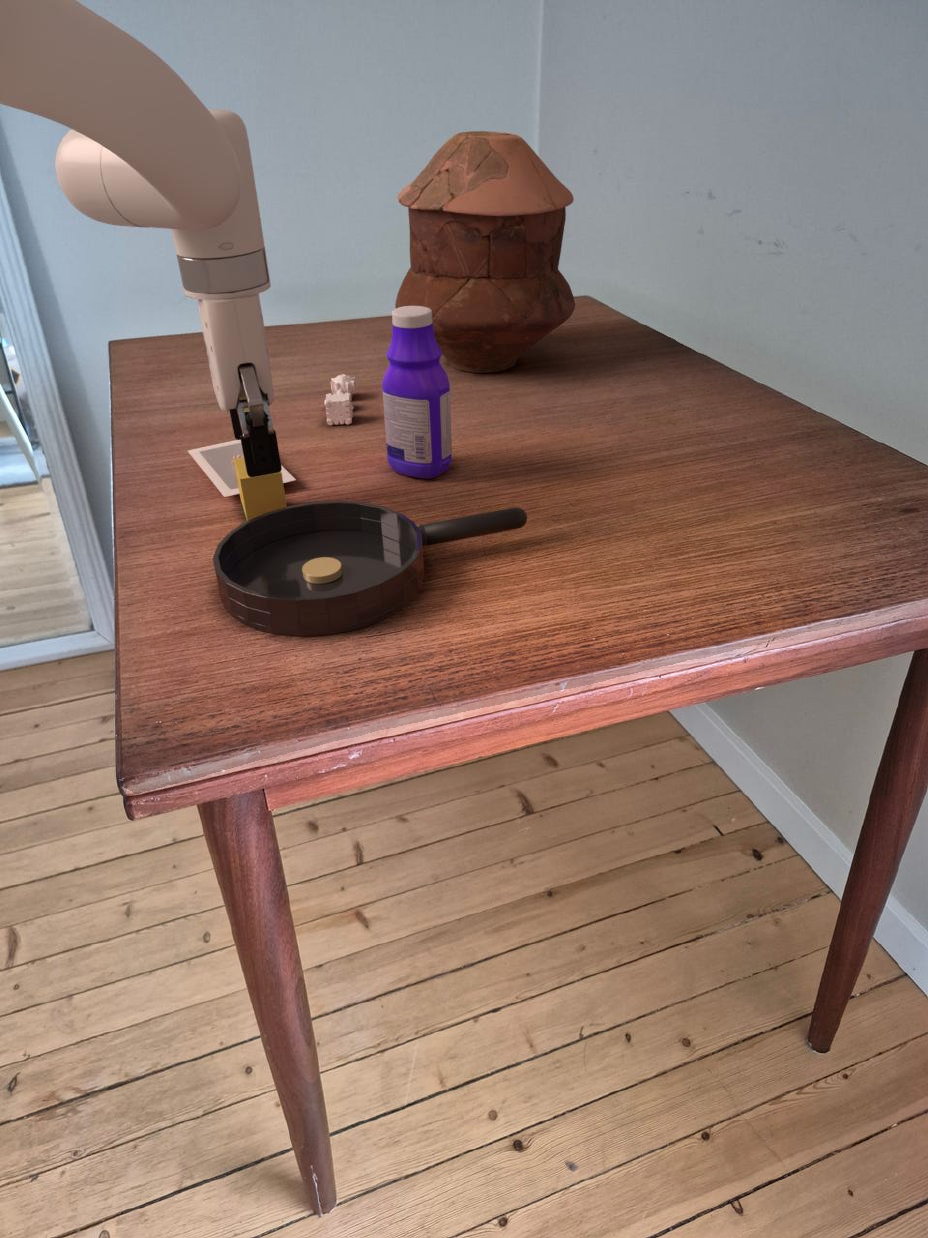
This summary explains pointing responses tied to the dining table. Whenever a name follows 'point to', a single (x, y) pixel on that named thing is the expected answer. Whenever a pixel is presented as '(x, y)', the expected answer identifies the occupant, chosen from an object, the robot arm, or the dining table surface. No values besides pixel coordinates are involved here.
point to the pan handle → (472, 526)
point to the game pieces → (340, 400)
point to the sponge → (259, 491)
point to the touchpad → (224, 465)
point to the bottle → (416, 397)
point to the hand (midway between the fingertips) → (257, 454)
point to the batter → (322, 570)
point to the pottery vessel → (487, 249)
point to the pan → (291, 536)
